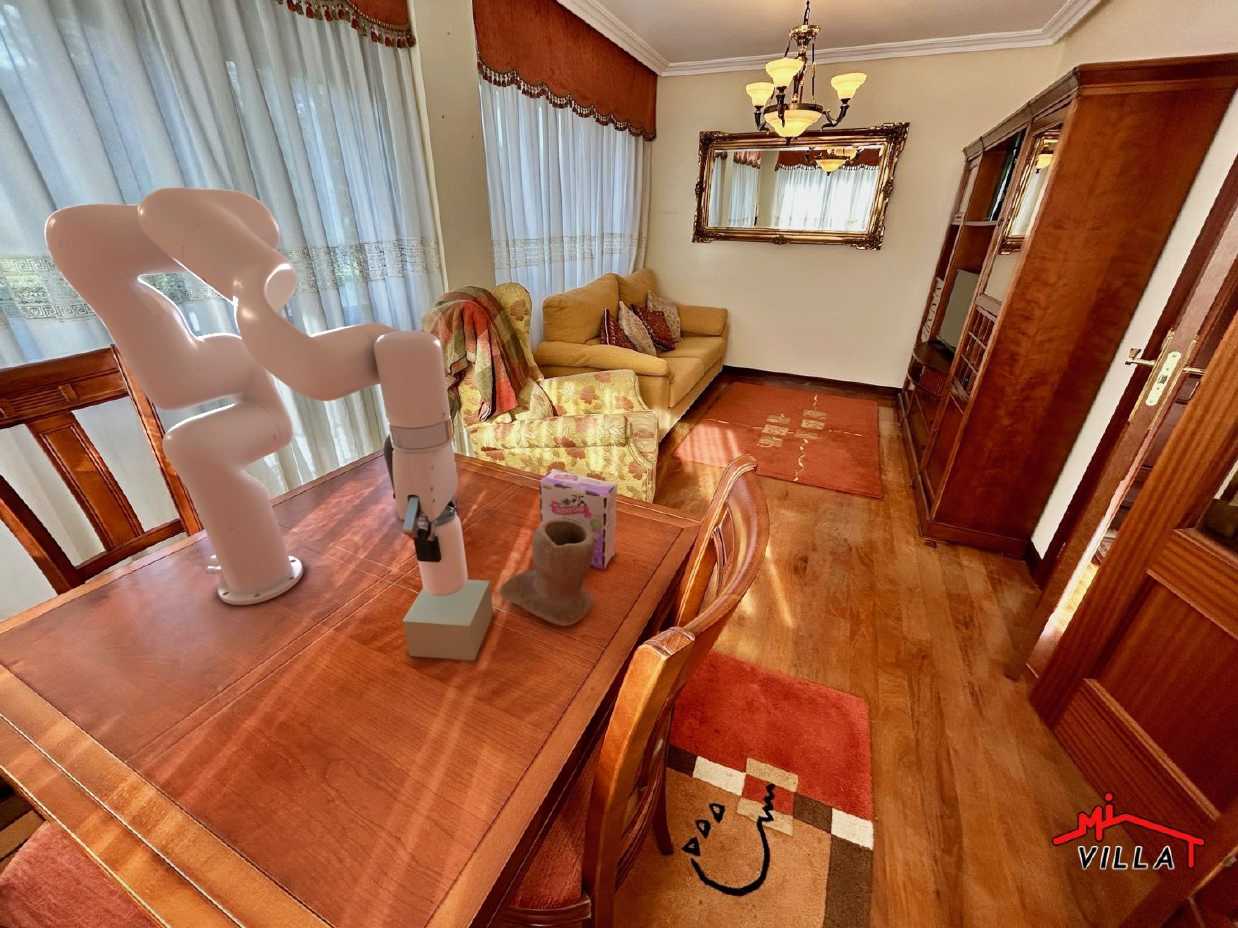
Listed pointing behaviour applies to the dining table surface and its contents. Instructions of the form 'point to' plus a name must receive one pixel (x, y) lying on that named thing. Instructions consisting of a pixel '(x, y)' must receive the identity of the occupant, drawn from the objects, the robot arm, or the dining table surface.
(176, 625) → the dining table surface
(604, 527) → the candy box
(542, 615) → the stone cup
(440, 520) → the can
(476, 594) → the block
